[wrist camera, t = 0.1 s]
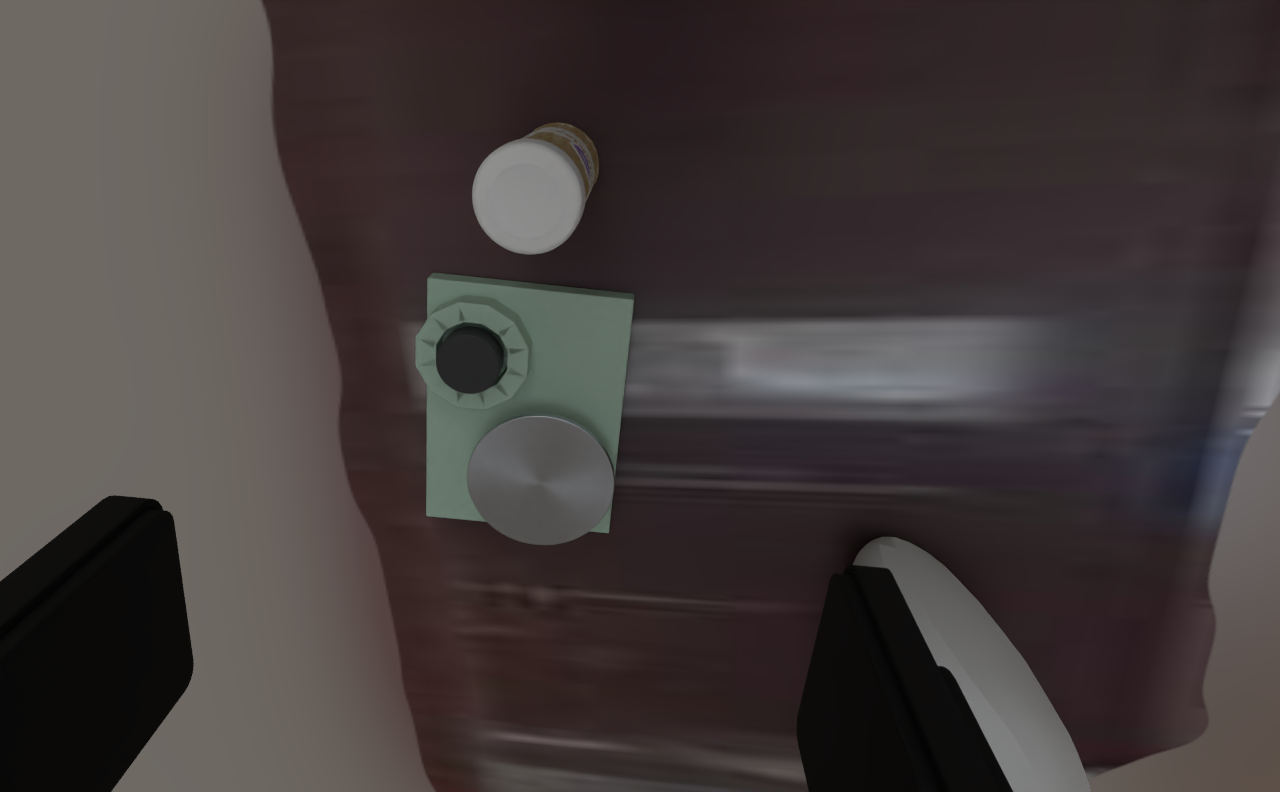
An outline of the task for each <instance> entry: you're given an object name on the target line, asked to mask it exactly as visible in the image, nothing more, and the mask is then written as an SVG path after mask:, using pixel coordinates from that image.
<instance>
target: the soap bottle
mask: <svg viewBox="0 0 1280 792" xmlns="http://www.w3.org/2000/svg"><path fill="white" fill-rule="evenodd" d="M853 565H860V566H871V567H881V568H887V569H889V570H890V571H891V572H892V574H893V576H894V578H895V580H896V582H897V584H898V586H899V588H900V590H901V592H902V594H903V596H904V598H905V600H906V603H907V605H908V607H909V609H910V611H911V613H912V615H913V617H914V619H915V621H916V623H917V625H918V627H919V629H920V631H921V633H922V635H923V637H924V639H925V641H926V643H927V645H928V647H929V649H930V651H931V653H932V655H933V657H934V659H935V661H936V663H937V666H944V667H945V668H947V669H949V670H950V671H951V673H952V674H953V676H954V677H955V679H956V681H957V683H958V684H959V686H960V688H961V690H962V692H963V694H964V696H965V698H966V700H967V702H968V704H969V706H970V708H971V710H972V712H973V714H974V716H975V718H976V720H977V722H978V724H979V726H980V728H981V730H982V731H983V733H984V735H985V737H986V739H987V741H988V743H989V745H990V747H991V749H992V751H993V753H994V755H995V757H996V759H997V761H998V763H999V765H1000V767H1001V769H1002V771H1003V773H1004V775H1005V777H1006V778H1007V780H1008V782H1009V784H1010V786H1011V788H1012V790H1013V792H1091V791H1090V786H1089V783H1088V779H1087V776H1086V774H1085V771H1084V769H1083V766H1082V763H1081V761H1080V758H1079V756H1078V753H1077V751H1076V748H1075V746H1074V744H1073V742H1072V739H1071V737H1070V735H1069V733H1068V731H1067V730H1066V728H1065V726H1064V725H1063V723H1062V721H1061V720H1060V718H1059V716H1058V714H1057V713H1056V711H1055V709H1054V708H1053V706H1052V704H1051V703H1050V701H1049V699H1048V697H1047V696H1046V694H1045V692H1044V691H1043V689H1042V688H1041V686H1040V684H1039V683H1038V681H1037V679H1036V678H1035V676H1034V675H1033V673H1032V671H1031V670H1030V668H1029V666H1028V665H1027V663H1026V662H1025V660H1024V659H1023V657H1022V656H1021V655H1020V653H1019V652H1018V651H1017V650H1016V648H1015V647H1014V646H1013V644H1012V643H1011V642H1010V640H1009V639H1008V638H1007V636H1006V635H1005V634H1004V633H1003V631H1002V630H1001V629H1000V627H999V626H998V625H997V624H996V622H995V621H994V620H993V619H992V617H991V616H990V615H989V614H988V612H987V611H986V610H985V609H984V607H983V606H982V605H981V604H980V602H979V601H978V600H977V599H976V598H975V597H974V596H973V595H972V594H971V593H970V592H969V591H968V590H967V589H966V587H965V586H964V585H963V584H962V583H961V582H960V581H959V580H958V579H957V578H956V577H955V576H954V575H953V574H952V573H951V572H950V571H949V570H948V569H947V568H946V567H945V566H944V565H943V564H942V563H940V562H939V561H938V560H936V559H935V558H934V557H933V556H931V555H930V554H929V553H927V552H926V551H924V550H922V549H921V548H919V547H917V546H915V545H914V544H912V543H910V542H907V541H904V540H901V539H899V538H896V537H880V538H877V539H874V540H872V541H871V542H869V543H868V544H866V545H865V546H864V547H863V548H862V549H861V550H860V551H859V553H858V555H857V556H856V558H855V560H854V563H853Z"/></svg>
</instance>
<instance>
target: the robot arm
mask: <svg viewBox="0 0 1280 792" xmlns="http://www.w3.org/2000/svg"><path fill="white" fill-rule="evenodd" d="M192 673H193V655H192V648H191V640H190V633H189V626H188V619H187V611H186V604H185V597H184V590H183V583H182V575H181V568H180V561H179V554H178V546H177V539H176V532H175V525H174V520H173V516H172V515H171V513H170V512H168V511H163V509H162V506H161V505H160V503H159V502H158V501H156V500H154V499H146V498H136V497H125V496H108V497H107V498H105V499H103V500H102V501H101V502H99V503H98V504H97V505H95V506H94V507H93V508H92V509H91V510H89V511H88V512H87V513H85V514H84V515H83V516H82V517H80V518H79V519H78V520H77V521H75V522H74V523H73V524H72V525H70V526H69V527H68V528H67V529H66V530H64V531H63V532H62V533H60V534H59V535H58V536H57V537H56V538H54V539H53V540H52V541H51V542H49V543H48V544H47V545H45V546H44V547H43V548H42V549H40V550H39V551H38V552H37V553H35V554H34V555H33V556H32V557H30V558H29V559H28V560H27V561H25V562H24V563H23V564H22V565H20V566H19V567H18V568H17V569H15V570H14V571H13V572H12V573H10V574H9V575H8V576H7V577H6V578H4V579H3V580H2V581H0V792H111V791H112V790H113V788H114V787H115V786H116V784H117V783H118V781H119V780H120V779H121V777H122V776H123V775H124V773H125V772H126V771H127V769H128V768H129V767H130V765H131V764H132V763H133V761H134V760H135V758H136V757H137V756H138V754H139V753H140V752H141V750H142V749H143V748H144V746H145V745H146V743H147V742H148V741H149V739H150V738H151V737H152V735H153V734H154V732H155V731H156V730H157V728H158V727H159V726H160V724H161V723H162V722H163V720H164V719H165V718H166V716H167V715H168V714H169V712H170V710H171V709H172V708H173V707H174V705H175V704H176V703H177V701H178V700H179V698H180V697H181V696H182V694H183V693H184V692H185V690H186V688H187V687H188V685H189V682H190V680H191V676H192ZM797 740H798V745H799V750H800V754H801V759H802V763H803V767H804V772H805V776H806V780H807V785H808V789H809V792H1013V790H1012V788H1011V786H1010V784H1009V782H1008V780H1007V778H1006V777H1005V775H1004V773H1003V771H1002V769H1001V767H1000V765H999V763H998V761H997V759H996V757H995V755H994V753H993V751H992V749H991V747H990V745H989V743H988V741H987V739H986V737H985V735H984V733H983V731H982V730H981V728H980V726H979V724H978V722H977V720H976V718H975V716H974V714H973V712H972V710H971V708H970V706H969V704H968V702H967V700H966V698H965V696H964V694H963V692H962V690H961V688H960V686H959V684H958V683H957V681H956V679H955V677H954V676H953V674H952V673H951V671H950V670H949V669H947V668H945V667H944V666H937V663H936V661H935V659H934V657H933V655H932V653H931V651H930V649H929V647H928V645H927V643H926V641H925V639H924V637H923V635H922V633H921V631H920V629H919V627H918V625H917V623H916V621H915V619H914V617H913V615H912V613H911V611H910V609H909V607H908V605H907V603H906V600H905V598H904V596H903V594H902V592H901V590H900V588H899V586H898V584H897V582H896V580H895V578H894V576H893V574H892V572H891V571H890V570H889V569H887V568H881V567H871V566H860V565H848V566H847V567H846V568H845V570H844V573H843V574H837V573H835V574H833V575H832V577H831V579H830V583H829V587H828V591H827V595H826V599H825V603H824V608H823V612H822V616H821V620H820V624H819V628H818V632H817V637H816V641H815V645H814V649H813V653H812V657H811V662H810V666H809V670H808V674H807V678H806V682H805V687H804V691H803V695H802V699H801V703H800V707H799V711H798V717H797Z"/></svg>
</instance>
